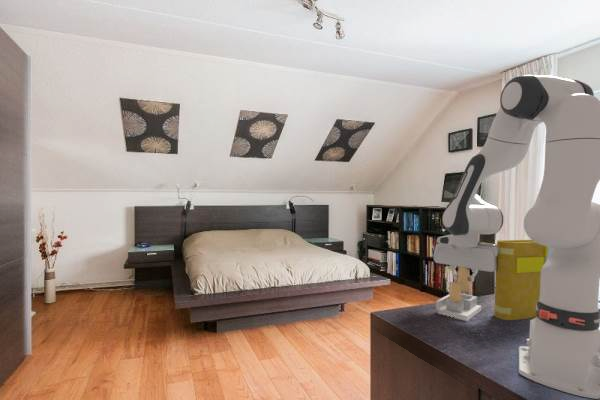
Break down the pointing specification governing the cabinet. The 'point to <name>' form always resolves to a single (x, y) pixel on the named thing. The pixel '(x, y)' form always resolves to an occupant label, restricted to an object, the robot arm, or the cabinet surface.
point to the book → (518, 278)
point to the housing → (458, 304)
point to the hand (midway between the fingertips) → (463, 279)
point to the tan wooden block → (463, 278)
